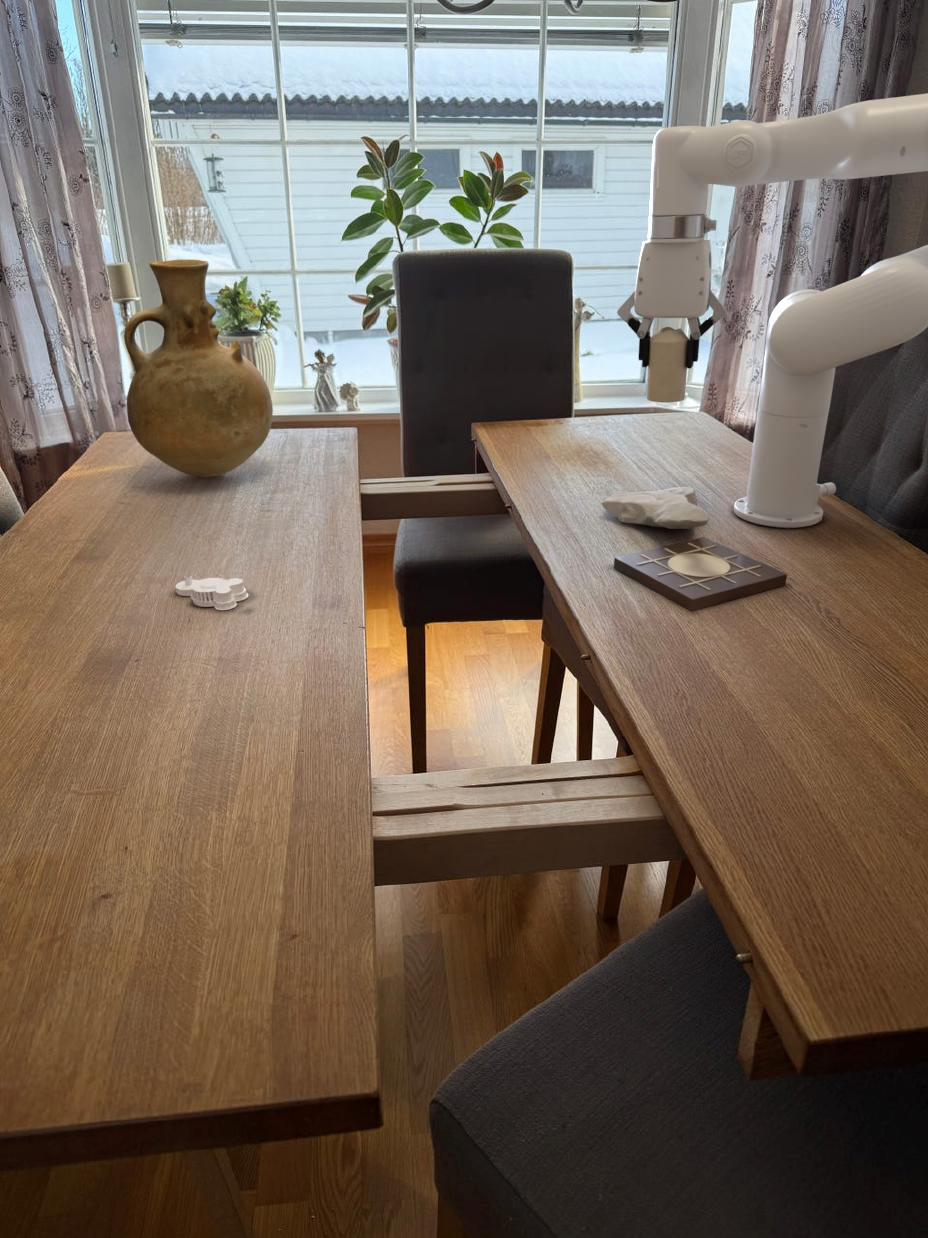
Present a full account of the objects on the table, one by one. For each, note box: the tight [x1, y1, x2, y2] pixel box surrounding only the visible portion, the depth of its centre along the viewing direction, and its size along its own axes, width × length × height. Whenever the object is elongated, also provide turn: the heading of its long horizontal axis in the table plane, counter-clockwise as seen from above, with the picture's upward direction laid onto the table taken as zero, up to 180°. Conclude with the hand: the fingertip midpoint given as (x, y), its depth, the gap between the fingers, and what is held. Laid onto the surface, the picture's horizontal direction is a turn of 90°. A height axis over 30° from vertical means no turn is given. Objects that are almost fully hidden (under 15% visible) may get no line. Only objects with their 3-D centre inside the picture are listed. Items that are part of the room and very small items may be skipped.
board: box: [613, 536, 788, 612], centre depth 111 cm, size 15×15×2 cm
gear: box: [175, 574, 250, 611], centre depth 107 cm, size 9×9×2 cm
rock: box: [601, 486, 709, 530], centre depth 129 cm, size 21×5×15 cm
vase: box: [123, 258, 274, 478], centre depth 148 cm, size 24×24×35 cm
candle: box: [646, 326, 690, 404], centre depth 128 cm, size 6×6×10 cm
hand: (667, 364), depth 128 cm, fingers closed on candle, 5 cm apart
